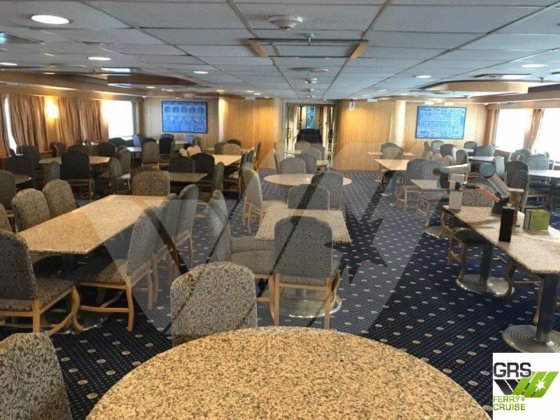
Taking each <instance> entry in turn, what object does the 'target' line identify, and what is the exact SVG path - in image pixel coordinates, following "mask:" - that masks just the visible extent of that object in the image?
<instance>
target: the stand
mask: <svg viewBox="0 0 560 420" xmlns="http://www.w3.org/2000/svg"><path fill="white" fill-rule="evenodd" d="M507 191H508V192H510V198H509V204H512V205H511V206H510V207H513V208H515V213H514V221H513V228H515V227H516V228H520V227H521V224H520V221H518V214H519V207H520V202H521V200H520V196H521V194H522V195H523V194H525V191H524V189H523V188H513V187H508V188H507ZM519 201H520V202H519Z"/></svg>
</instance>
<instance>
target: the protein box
mask: <svg viewBox="0 0 560 420" xmlns="http://www.w3.org/2000/svg"><path fill="white" fill-rule="evenodd" d="M550 216H551V212H550V211H549V210H544V209H525V210H524V216H523V224H522V228H524V229H525V230H528V231H540V232H541V230H548V231H549V225H550V218H551V217H550Z"/></svg>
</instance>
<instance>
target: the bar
mask: <svg viewBox="0 0 560 420" xmlns="http://www.w3.org/2000/svg"><path fill="white" fill-rule="evenodd" d="M473 185H474V186H478V185H479V184H476V183H474V184H473ZM475 190H476V191H477V190H478V192H480V193H481V194H483V195H485V196H487V197H488V198H489V199H491V200H493V201H496V202H497V203H498V202H499V200H500V199H499V198H497V197H496V196H495V194H492V193H491V192H489V191H487V190H486V189H485V188H484V190H483V189H476V188H475Z"/></svg>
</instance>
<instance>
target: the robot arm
mask: <svg viewBox="0 0 560 420" xmlns="http://www.w3.org/2000/svg"><path fill="white" fill-rule="evenodd" d="M430 173H431V175H432V176H434V177H439V179H437V181H436V188H437V189H441V190H450V189H451V190H452V189H453V190H454V189H455V190H459V189H460V188H462V189H463V190H464V189H467V190H474V191H475V190H477V189H483V190H484V189H485V185H479V184H477V185H478V186H474V184H468V183H464V184H460V182H459V181H456V182H455V181H451V180H449V177H450V176H449V175H452V174H464V173H466V174H475V175H479V176H480V177H482V178H483V179H484V180H487V181H488V182H489V183H490V184H491V185H492V186H493V188H494V189H495V192H494V196H496V197H497V198H499V199H500V200H499V202H498V203H497V202H496V201H494V200H493V201H494V202H493V205H492V207H491V209H490V212H491V213H495V214H499V215H502V208H503V206H504V207H508V206H507V203H509V198H510V192H508V191H507V188H509V186H507V184H506V183H505V182H504V181H503V180H502V179H501V178H500V176H498V175H497V174H496V170H495V166H494V165H493V164H492V163H489V162H484V161H473V162H466V163H465V164H460V165H459V164H457V165H449V166H441V167H440V166H439V167H435V166H434V167H432V168H431V170H430ZM475 188H476V189H475ZM521 198H522V195H520V201H519V203H520V202H521V200H522V199H521Z"/></svg>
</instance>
